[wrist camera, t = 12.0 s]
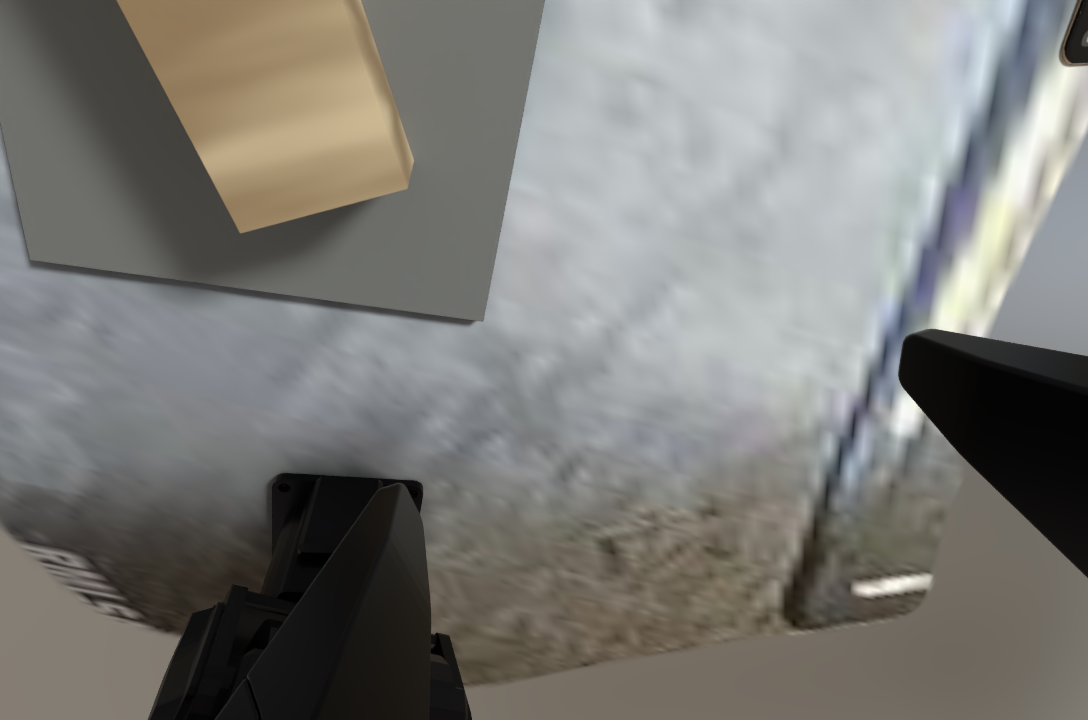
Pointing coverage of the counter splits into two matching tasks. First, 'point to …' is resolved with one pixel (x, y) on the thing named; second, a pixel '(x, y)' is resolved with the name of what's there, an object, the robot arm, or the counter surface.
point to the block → (278, 101)
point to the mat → (195, 204)
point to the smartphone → (1077, 37)
